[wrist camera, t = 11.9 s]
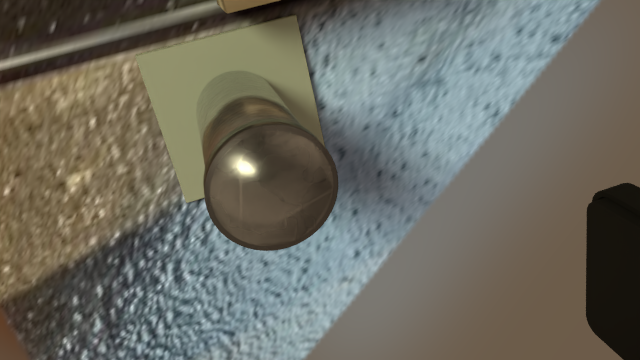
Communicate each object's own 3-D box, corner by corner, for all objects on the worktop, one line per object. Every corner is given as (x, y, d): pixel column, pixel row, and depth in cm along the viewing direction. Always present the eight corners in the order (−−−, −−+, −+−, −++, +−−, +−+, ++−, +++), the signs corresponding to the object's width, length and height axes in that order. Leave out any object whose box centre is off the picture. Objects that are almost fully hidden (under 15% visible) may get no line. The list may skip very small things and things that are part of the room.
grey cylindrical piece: (180, 80, 31) (186, 147, 20) (271, 56, 32) (323, 109, 21) (207, 164, 33) (226, 266, 22) (291, 141, 34) (348, 228, 23)
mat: (135, 54, 30) (135, 56, 30) (294, 14, 32) (296, 15, 31) (186, 199, 34) (186, 202, 34) (326, 158, 36) (328, 160, 35)
